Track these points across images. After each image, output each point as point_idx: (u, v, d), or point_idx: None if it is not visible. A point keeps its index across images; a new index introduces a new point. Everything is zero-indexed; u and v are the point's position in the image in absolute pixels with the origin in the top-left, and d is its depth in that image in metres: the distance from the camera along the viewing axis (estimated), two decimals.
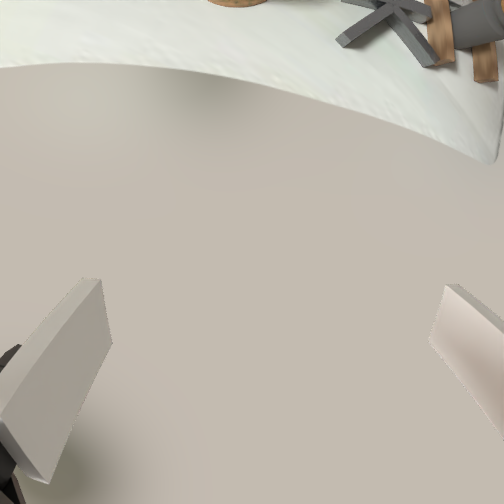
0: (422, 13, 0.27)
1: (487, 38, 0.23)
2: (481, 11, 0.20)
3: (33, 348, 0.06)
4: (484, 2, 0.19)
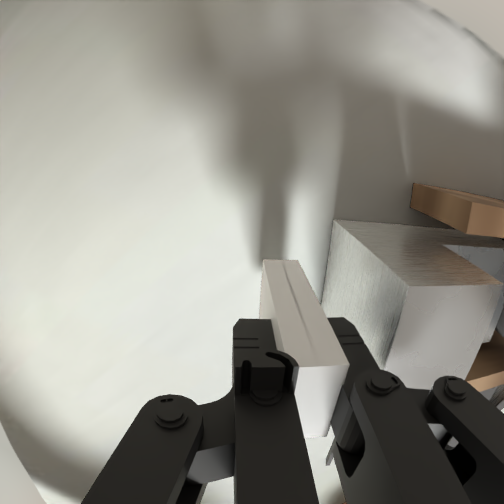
0: (491, 393, 0.15)
1: None
2: None
3: (290, 314, 0.09)
4: None
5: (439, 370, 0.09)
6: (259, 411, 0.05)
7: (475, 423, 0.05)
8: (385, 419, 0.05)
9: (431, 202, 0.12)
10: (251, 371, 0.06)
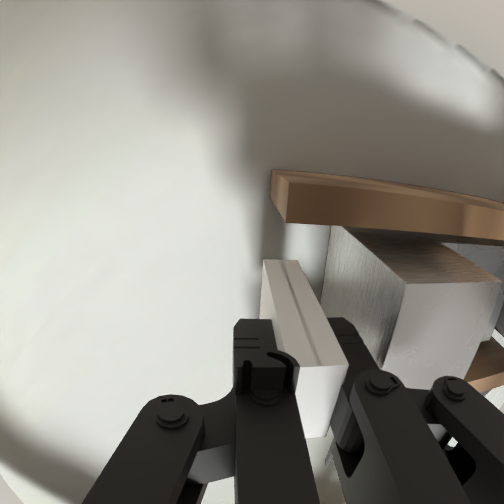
0: None
1: None
2: None
3: (290, 314, 0.09)
4: None
5: (438, 368, 0.09)
6: (260, 411, 0.05)
7: (474, 423, 0.05)
8: (384, 419, 0.05)
9: (276, 189, 0.12)
10: (252, 371, 0.06)
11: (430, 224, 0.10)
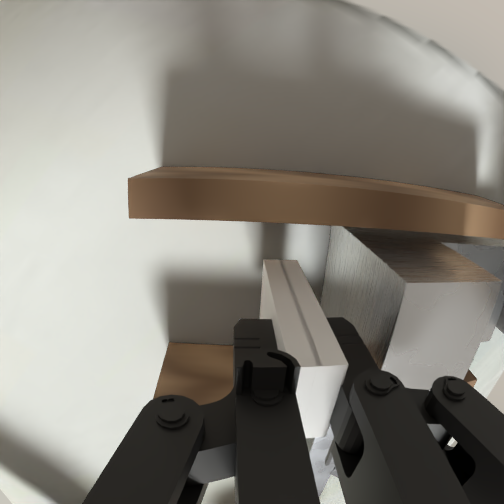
0: None
1: None
2: None
3: (291, 314, 0.09)
4: None
5: (438, 368, 0.09)
6: (260, 411, 0.05)
7: (474, 423, 0.05)
8: (384, 419, 0.05)
9: None
10: (252, 371, 0.06)
11: (300, 213, 0.09)
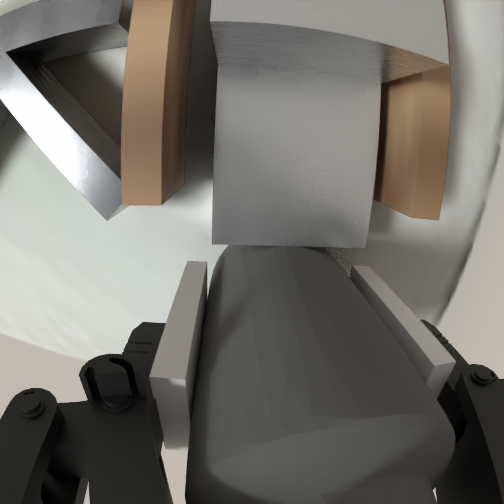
0: (81, 25, 0.08)
1: None
2: None
3: (182, 319, 0.08)
4: (210, 487, 0.04)
5: None
6: (110, 418, 0.05)
7: None
8: (484, 404, 0.05)
9: None
10: (96, 378, 0.05)
11: None
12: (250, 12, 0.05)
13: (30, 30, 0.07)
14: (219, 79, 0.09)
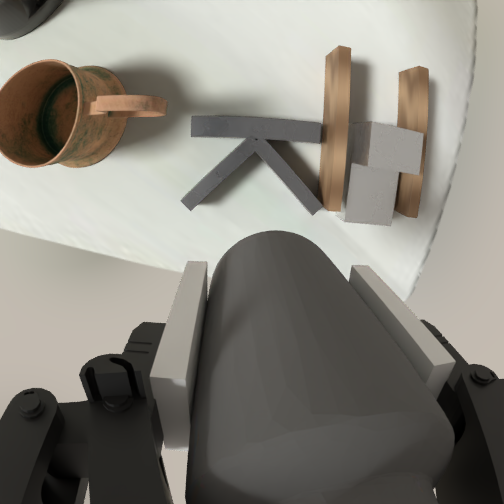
0: (304, 140, 0.28)
1: None
2: None
3: (182, 319, 0.08)
4: (211, 486, 0.04)
5: (393, 152, 0.25)
6: (110, 418, 0.05)
7: None
8: (484, 404, 0.05)
9: None
10: (96, 378, 0.05)
11: (420, 112, 0.26)
12: (375, 165, 0.25)
13: (279, 133, 0.28)
14: (351, 168, 0.29)
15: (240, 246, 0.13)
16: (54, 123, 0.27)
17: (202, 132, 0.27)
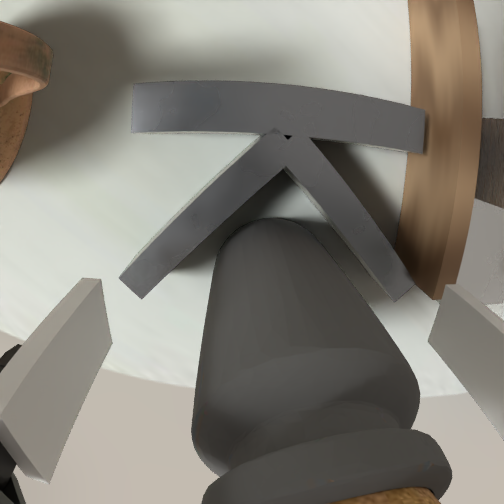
0: (394, 144, 0.12)
1: None
2: None
3: (33, 348, 0.06)
4: (213, 412, 0.06)
5: None
6: None
7: None
8: None
9: None
10: None
11: None
12: None
13: (341, 125, 0.11)
14: None
15: (240, 231, 0.15)
16: None
17: (159, 120, 0.11)
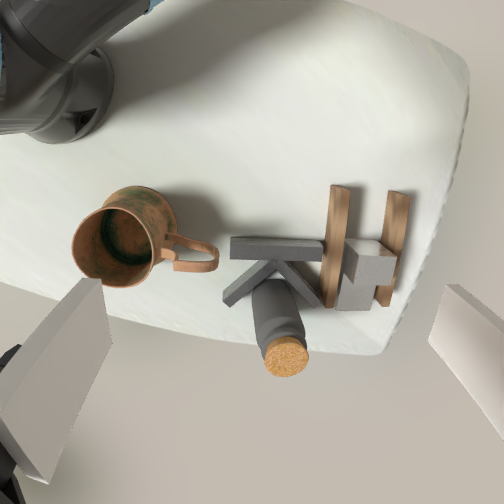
0: (311, 259, 0.41)
1: None
2: (257, 336, 0.37)
3: (33, 348, 0.06)
4: (262, 328, 0.36)
5: (372, 273, 0.38)
6: None
7: None
8: None
9: (397, 193, 0.40)
10: None
11: (399, 233, 0.39)
12: (359, 283, 0.39)
13: (293, 256, 0.41)
14: (343, 276, 0.42)
15: (261, 284, 0.44)
16: (115, 234, 0.40)
17: (238, 256, 0.41)
